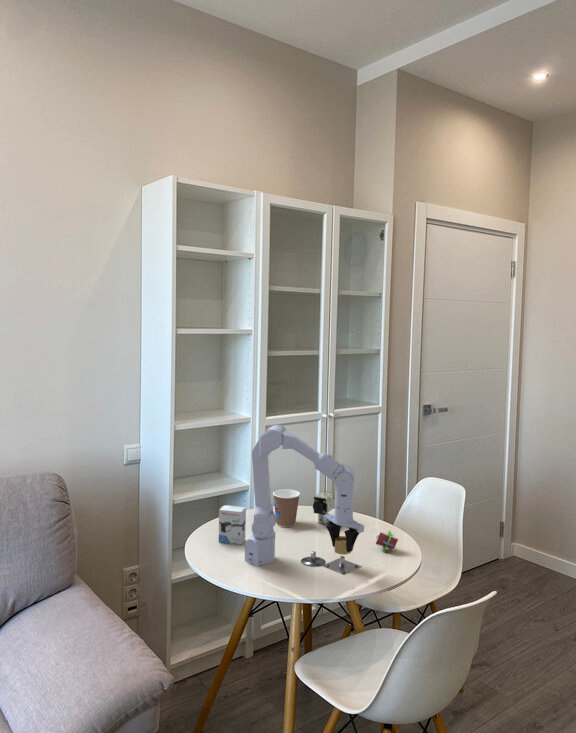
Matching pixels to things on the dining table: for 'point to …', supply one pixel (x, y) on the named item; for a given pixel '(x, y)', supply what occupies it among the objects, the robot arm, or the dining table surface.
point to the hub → (342, 566)
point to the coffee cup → (286, 507)
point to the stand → (313, 561)
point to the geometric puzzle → (386, 541)
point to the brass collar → (340, 545)
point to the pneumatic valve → (323, 505)
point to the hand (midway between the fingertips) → (342, 548)
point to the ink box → (232, 524)
